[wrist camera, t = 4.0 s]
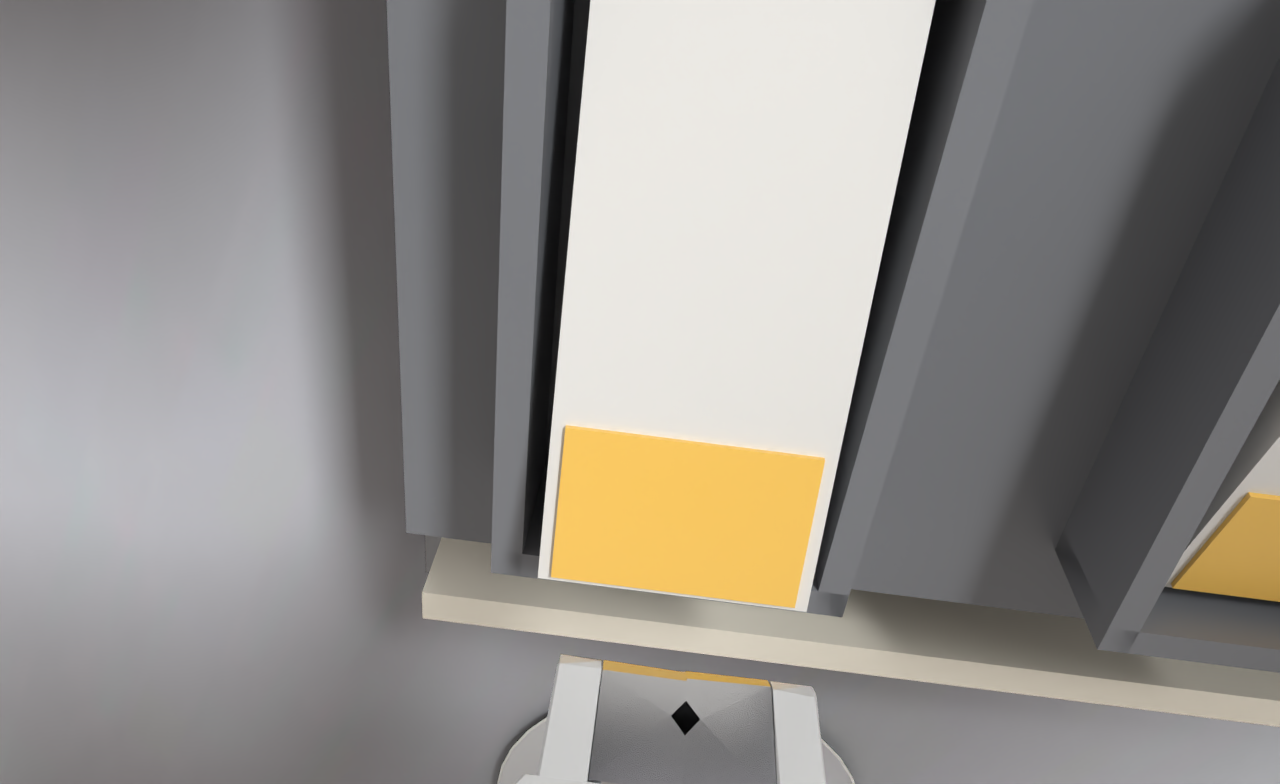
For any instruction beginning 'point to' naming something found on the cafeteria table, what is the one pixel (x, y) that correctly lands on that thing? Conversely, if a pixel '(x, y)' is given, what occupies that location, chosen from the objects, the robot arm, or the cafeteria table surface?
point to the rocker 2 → (1241, 522)
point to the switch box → (900, 351)
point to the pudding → (529, 745)
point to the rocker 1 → (720, 286)
